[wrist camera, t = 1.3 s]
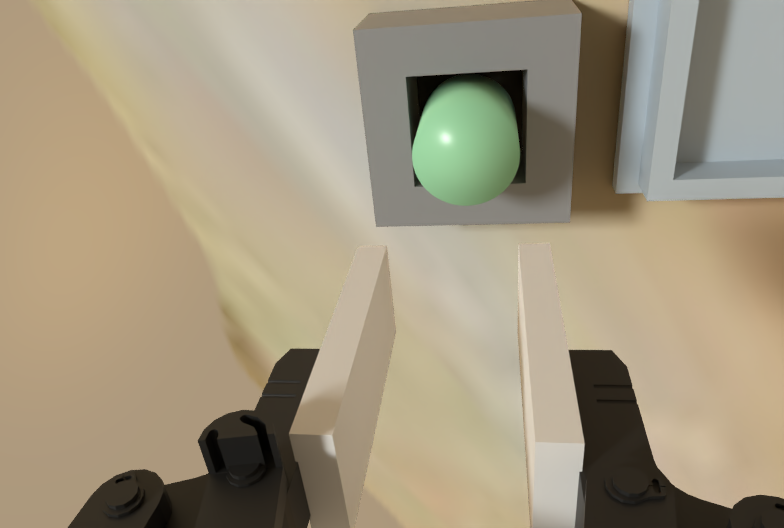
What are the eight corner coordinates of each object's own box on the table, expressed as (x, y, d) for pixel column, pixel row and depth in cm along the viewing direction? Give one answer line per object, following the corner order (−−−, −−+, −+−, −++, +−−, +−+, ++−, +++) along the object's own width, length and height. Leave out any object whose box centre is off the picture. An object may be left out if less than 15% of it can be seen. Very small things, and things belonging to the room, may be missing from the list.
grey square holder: (369, 13, 29) (352, 30, 25) (570, -3, 27) (581, 13, 24) (387, 192, 33) (376, 226, 30) (561, 186, 32) (569, 222, 28)
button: (419, 76, 28) (408, 107, 24) (516, 70, 27) (520, 100, 23) (425, 166, 30) (415, 207, 26) (515, 162, 29) (519, 204, 25)
